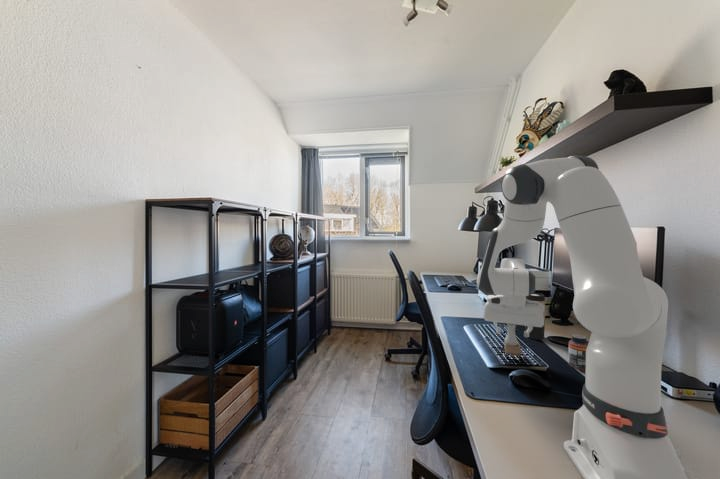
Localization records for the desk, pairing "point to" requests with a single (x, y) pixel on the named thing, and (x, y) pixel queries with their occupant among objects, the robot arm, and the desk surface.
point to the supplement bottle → (578, 352)
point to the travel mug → (539, 331)
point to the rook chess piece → (511, 335)
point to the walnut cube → (512, 349)
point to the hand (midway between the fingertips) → (512, 334)
